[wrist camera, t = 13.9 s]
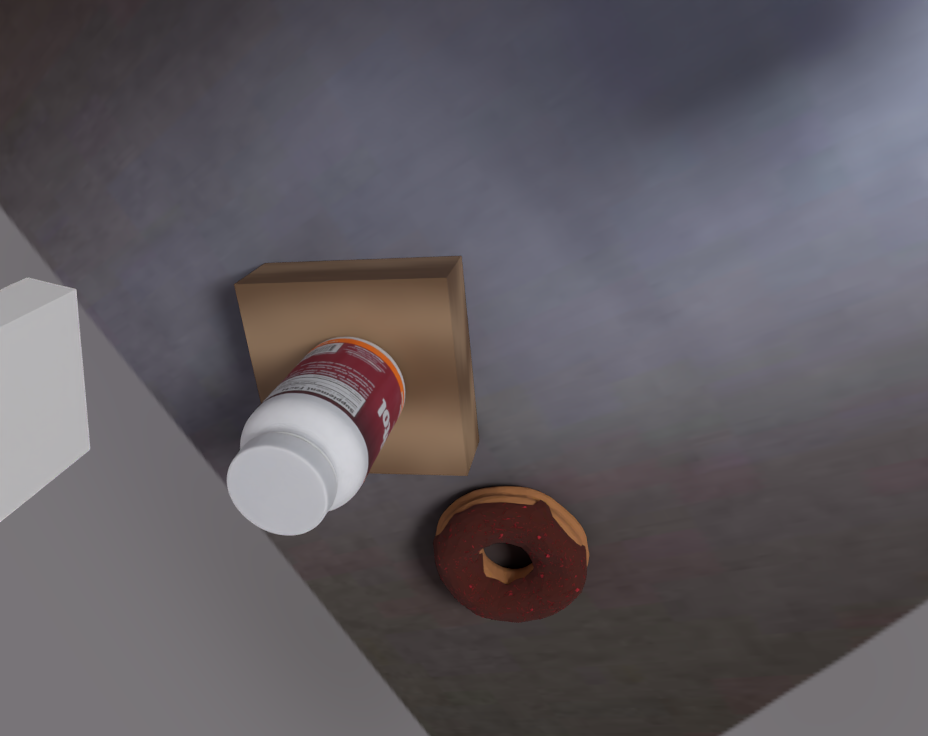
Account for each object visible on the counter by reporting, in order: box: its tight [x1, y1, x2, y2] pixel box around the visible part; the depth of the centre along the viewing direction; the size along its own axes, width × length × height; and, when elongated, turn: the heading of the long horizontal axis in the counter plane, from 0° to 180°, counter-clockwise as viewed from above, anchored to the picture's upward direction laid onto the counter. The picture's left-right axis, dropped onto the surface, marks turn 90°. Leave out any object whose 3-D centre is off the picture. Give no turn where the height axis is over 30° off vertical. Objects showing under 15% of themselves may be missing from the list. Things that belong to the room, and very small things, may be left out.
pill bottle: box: [227, 337, 405, 535], centre depth 37 cm, size 6×6×11 cm
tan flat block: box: [234, 256, 479, 476], centre depth 44 cm, size 12×12×4 cm
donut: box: [433, 486, 589, 623], centre depth 48 cm, size 10×10×4 cm
